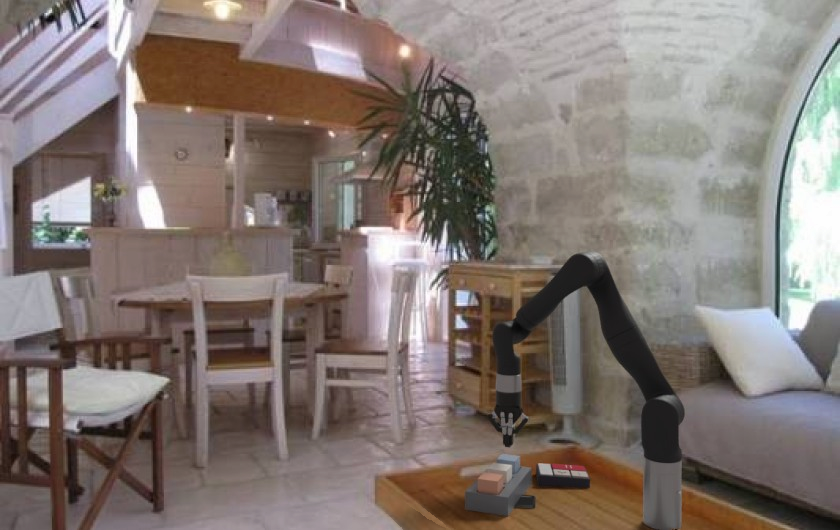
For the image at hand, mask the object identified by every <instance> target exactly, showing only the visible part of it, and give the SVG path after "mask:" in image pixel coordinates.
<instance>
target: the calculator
mask: <svg viewBox="0 0 840 530" xmlns="http://www.w3.org/2000/svg"><path fill="white" fill-rule="evenodd" d="M535 476H536V482H537V485H538V487H544V488H545V487H547V488H549V487H550V488H551V487H552V488H554V487H559V488H576V489H579V488H583V489H584V488H585V489H590V488H591V487H590V486H591V478H590V475H589V474H588V471H587V468H586V467H585V466H584V465H577V464H576V465H575V464H572V465H571V464H561V463H539V462H538V463H536V466H535Z"/></svg>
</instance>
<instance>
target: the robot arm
mask: <svg viewBox="0 0 840 530" xmlns="http://www.w3.org/2000/svg"><path fill="white" fill-rule="evenodd" d="M583 287H586V288H587V289H588V291H589V293H590V294H591V296H592V298H593V300H594V302H595V304H596V306H597V307H596V308H597V311H598V317H599V322H600V329H601V333H602V336H603V338H604V340H605V341H606V344H607V346H608V348H609V350H610V352H611V354H612V355H613V357H614V358H615V360H616V361H617V362H618V364H619V365H620V366H621V367H622V368H623V369H624V370H625V371H626V372H627V373H628V375H630V377H632V379H633V380H634V381H635V382H636V384H637V386H638V387H639V390H640V391H641V393H642V396H643V398H644V400H645V403H644V405H643V407H642V410H641V414H640V415H641V416H640V429H641V430H640V435H641V446H642V449H643V482H642V483H643V486H642V487H643V489H642V490H643V491H642V492H643V493H642V495H643V496H642V498H643V499H642V502H643V503H642V504H643V505H642V509H643V510H642V516H643V517H642V522H643V524H644V525H645V526H647V527H649V528H651V529H655V530H658V529H659V530H671V529H680V528H682V508H683V506H682V503H683V502H682V498H683V497H682V495H683V494H682V493H683V491H682V490H683V487H682V486H683V485H682V466H683V465H682V462H683V461H682V457H683V456H682V455H683V451H682V448H681V447H680V443H679V441H680V439H679V435H680V432H679V431H680V430H679V428H680V427H679V426H680V425H681V424H682V423H683V421H684V419H685V414H686V413H685V407H684V404H683V402H682V401H681V399H680V397H679V396H678V394H677V393H676V392H675V389H674V388H673V387H672V385H671V384H670V382H669V381H668V380H667V378H666V377H665V375H664V374H663V372H662V370H661V367H660V366H659V364H658V362H657V359H656V357H655V355H654V354H653V352H652V350H651V348H650V347H649V344H648V342H647V340H646V338H645V336H644V334H643V332H642V331H641V329H640V327H639V325H638V324H637V322H636V320H635V318H634V317H633V315H632V313H631V311H630V309H629V308H628V305H627V304H626V302H625V301H624V298H623V296H622V295H621V293H620V291H619V288H618V287H617V283H616V282H615V280H614V278H613V275H612V272H611V270H610V268H609V265H608V263H607V261H606V259H605V258H604V257H603V255H601V254H600V253H598V252H596V251H593V250H590V251H589V250H588V251H583V252H578V253H575V254H573V255H571V256H570V257H569V258H568V259H567V260H566V262H564V264H563V265H562V266H561V267H560V268H559V270H558V272H557V273H556V274H555V275H554V276H553V277H552V278H551V280H550V281H549V282H547V284H546V285H545V286H544V287H542V288H541V290H539V291H538V292H537V293H536V294H535V295H533V296H532V297H531V298H530V299H529V300H528V301H526V302H525V303H524V304H523V305H522V306H521V307H520V308H519V309H518V310H517V311H516V313H515V317H514V318H513V319H511V320H508V321H502V322H498V323H497V324H496V325H495V326H494V328H493V330H492V337H491V338H492V339H491V340H492V344H493V349H494V353H495V356H496V377H495V378H496V379H495V407H494V409H493V411H492V412H490V413H489V412H488V414H487V416H486V417H487V418H488V420H489V422H490V423H491V424H492V426H493V427H494V429H495V430H496V431H497V433H501V434H502V443H503V446H504V447H505V448H511V447H512V446H513V445H514V435H517V434H518V433H520V431H522V429H523V428H524V427H525V425H526V424H527V423H528V422H529V421H530V419H531V417H530V416H528V415H526V414H525V413H524V410H523V408H522V383H523V382H522V371H521V368H522V360H521V355H519V354H518V353H515V350H514V345H518V344H520V343H522V342H523V341H524V340H527V338H528V337H529V336H530V334H532V332H533V331H534V329H535V328H536V327H538V326H539V325H540V324H542V323H543V322H544V321H545V320H547V318H548V317H549V316H551V315H552V313H554V311H555V309H556V308H557V307H558V306H559V305H560V303H561V302H562V301H563V300H564V299H566V298H567V297H568V296H569V295H571V294H572V293H574V292H576V291H578V290H579V289H582V288H583ZM519 419H520V423H519V424H518V425H517V426H516V422H518V420H519ZM680 530H681V529H680Z"/></svg>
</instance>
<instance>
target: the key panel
mask: <svg viewBox="0 0 840 530" xmlns="http://www.w3.org/2000/svg"><path fill="white" fill-rule="evenodd" d="M493 463H494V462H492V463H491V464H490V465H489V466H488V467H487V468H486V469H485V470H484V471H483V472H482V474H483V473H484V472H485V473H488V468H489V467H490V466H491V465H492V464H493ZM532 471H533V469H532V467H530V466H529V467H528V466H521V465H520V470H519V471H518V472H517V473H516V474H512V479H511V480H510V482H509V483H508V484H504V483H503V490H502V491H501V492H500V494H499V495H495V494H488V493H481V492H478V478H476V479H475V481H473V483H472V484H471V485H469V487H468V488H466V490H465V491H464V510H465V511H473V512H478V513H485V514H492V515H499V516H506V517H509V516H510V514H511V513H512V511H513V510H514V509H513V508H515V504H516V503H517V501H518V500H519V499H520V497H521V496H522V495H525V494H526V492H527V491H528V490H529V488H530V487H531V485H532V484H533V483H532V482H533V481H532V480H533V479H532V478H533V477H532V476H533V475H532V474H533V473H532Z"/></svg>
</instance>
